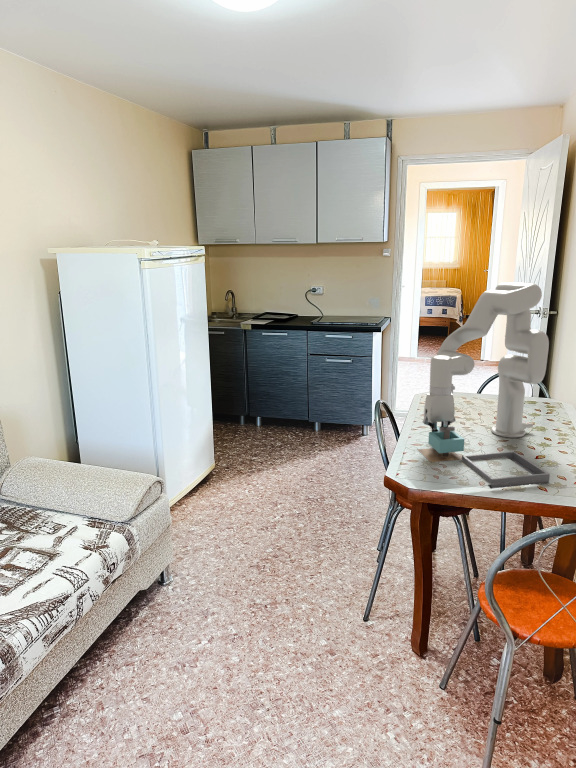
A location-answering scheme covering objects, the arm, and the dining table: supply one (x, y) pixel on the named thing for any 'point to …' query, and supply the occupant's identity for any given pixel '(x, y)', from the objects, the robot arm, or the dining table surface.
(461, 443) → the teal hollow frame
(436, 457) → the stake board
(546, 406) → the dining table surface
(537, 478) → the tray
